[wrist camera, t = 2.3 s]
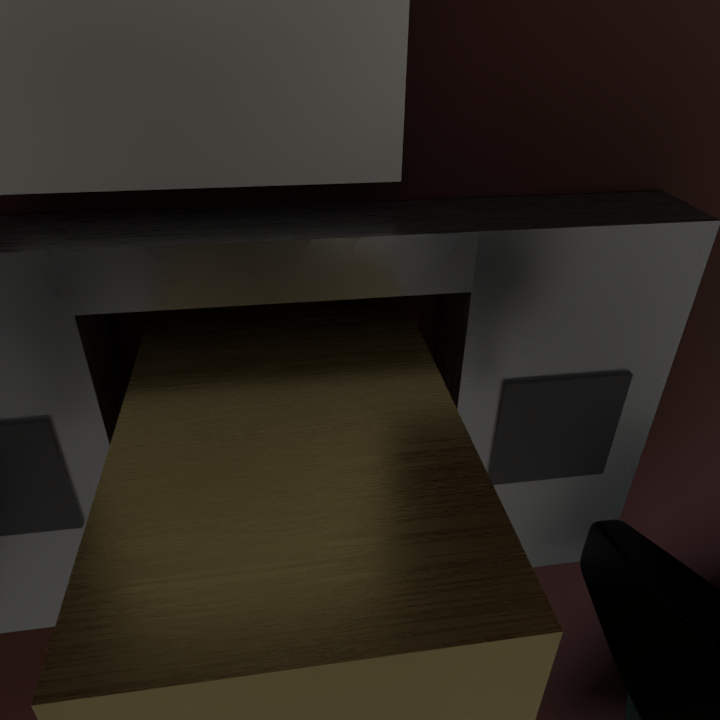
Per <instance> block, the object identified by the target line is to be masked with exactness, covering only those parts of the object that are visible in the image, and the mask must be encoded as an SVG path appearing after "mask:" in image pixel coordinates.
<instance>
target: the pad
mask: <svg viewBox="0 0 720 720" xmlns="http://www.w3.org/2000/svg"><path fill="white" fill-rule="evenodd" d="M409 3H410V0H0V195H11V194H41V193H71V192H101V191H131V190H162V189H192V188H222V187H252V186H282V185H312V184H342V183H372V182H401V174H402V152H403V131H404V110H405V88H406V67H407V45H408V24H409Z"/></svg>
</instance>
